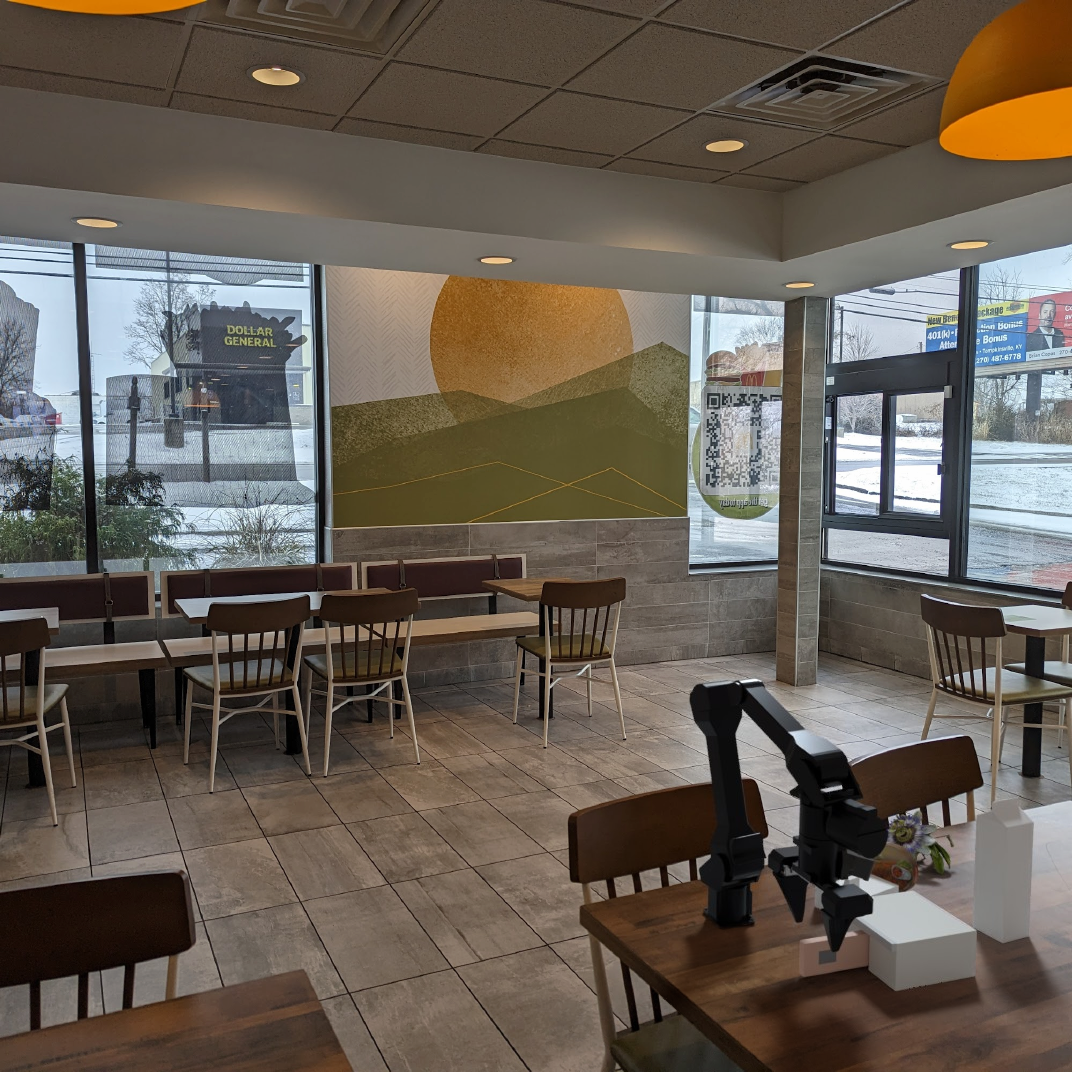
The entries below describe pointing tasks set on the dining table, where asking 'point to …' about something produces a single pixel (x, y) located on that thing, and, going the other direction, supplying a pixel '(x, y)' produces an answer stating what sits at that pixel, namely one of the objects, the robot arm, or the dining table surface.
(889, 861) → the tin
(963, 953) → the white box
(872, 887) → the bracket
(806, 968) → the pink plank
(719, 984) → the dining table surface
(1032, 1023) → the dining table surface
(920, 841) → the passion flower
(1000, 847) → the milk
